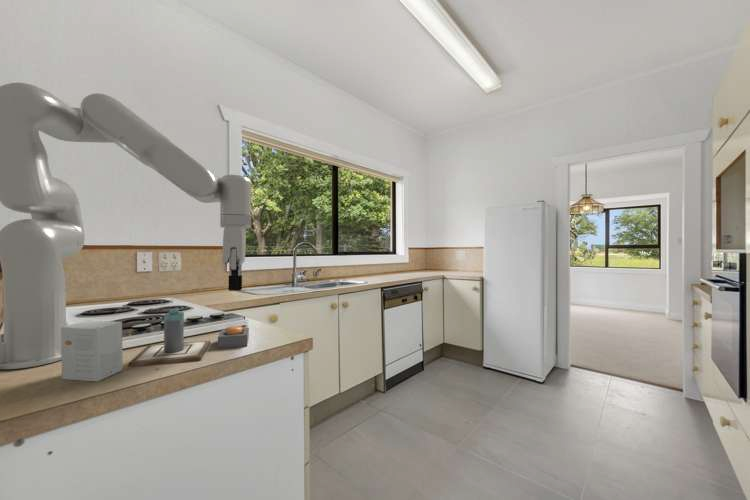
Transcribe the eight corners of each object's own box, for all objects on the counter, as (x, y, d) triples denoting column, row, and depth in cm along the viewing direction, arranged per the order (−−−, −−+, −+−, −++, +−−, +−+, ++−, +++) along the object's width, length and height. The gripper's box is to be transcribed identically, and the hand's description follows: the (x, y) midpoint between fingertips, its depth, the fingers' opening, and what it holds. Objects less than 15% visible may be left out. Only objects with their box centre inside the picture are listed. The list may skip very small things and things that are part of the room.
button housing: (217, 348, 80) (217, 336, 80) (221, 340, 87) (221, 329, 87) (247, 346, 83) (247, 335, 83) (248, 338, 89) (248, 327, 89)
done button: (225, 337, 82) (225, 330, 82) (227, 333, 86) (227, 326, 86) (241, 336, 84) (241, 329, 84) (242, 332, 87) (242, 325, 87)
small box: (123, 370, 66) (123, 321, 66) (97, 382, 60) (97, 328, 60) (89, 368, 67) (89, 319, 66) (60, 379, 61) (60, 326, 61)
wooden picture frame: (128, 366, 68) (128, 362, 68) (148, 348, 79) (148, 344, 79) (200, 360, 73) (200, 356, 73) (210, 343, 84) (210, 340, 84)
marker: (161, 353, 73) (161, 311, 73) (166, 348, 77) (167, 308, 77) (181, 352, 75) (181, 310, 74) (185, 346, 79) (185, 307, 78)
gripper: (224, 223, 90) (223, 286, 90) (215, 220, 76) (215, 295, 76) (252, 224, 92) (251, 285, 93) (249, 221, 78) (248, 294, 79)
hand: (235, 289), depth 85 cm, fingers closed
